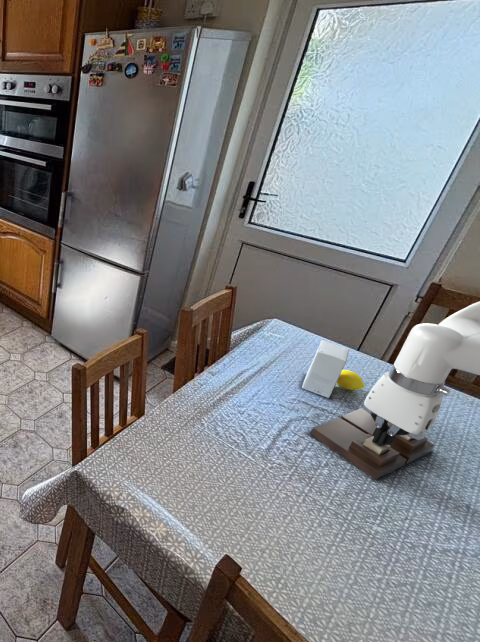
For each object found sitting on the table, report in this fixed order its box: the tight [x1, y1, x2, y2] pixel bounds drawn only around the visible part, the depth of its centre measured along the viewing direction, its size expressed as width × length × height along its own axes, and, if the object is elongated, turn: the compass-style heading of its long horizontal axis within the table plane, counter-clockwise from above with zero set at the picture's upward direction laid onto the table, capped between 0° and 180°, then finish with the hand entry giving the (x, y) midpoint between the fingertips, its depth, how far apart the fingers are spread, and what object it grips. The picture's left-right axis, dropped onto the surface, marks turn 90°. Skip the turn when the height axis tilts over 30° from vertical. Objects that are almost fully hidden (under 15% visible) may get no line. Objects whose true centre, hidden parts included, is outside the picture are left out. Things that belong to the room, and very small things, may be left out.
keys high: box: [309, 416, 407, 480], centre depth 99 cm, size 14×10×4 cm
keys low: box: [340, 407, 435, 465], centre depth 102 cm, size 14×10×4 cm
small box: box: [301, 339, 350, 399], centre depth 117 cm, size 8×6×13 cm
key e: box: [363, 436, 390, 455], centre depth 95 cm, size 3×3×2 cm
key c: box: [399, 435, 414, 441], centre depth 98 cm, size 3×3×2 cm
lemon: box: [336, 369, 365, 391], centre depth 118 cm, size 7×5×5 cm
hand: (379, 442), depth 94 cm, fingers closed
